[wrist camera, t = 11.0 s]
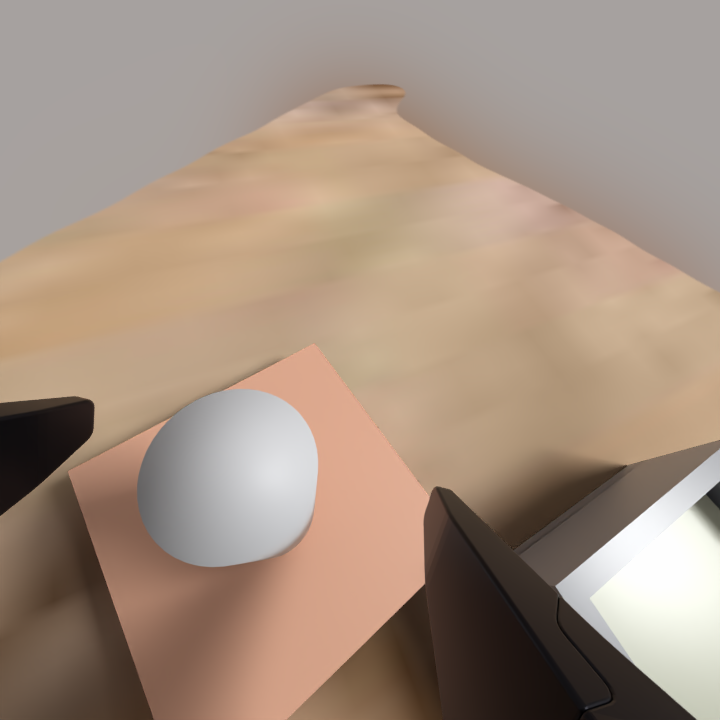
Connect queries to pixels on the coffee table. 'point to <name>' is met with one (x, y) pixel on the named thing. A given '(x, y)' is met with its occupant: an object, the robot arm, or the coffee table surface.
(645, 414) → the coffee table surface
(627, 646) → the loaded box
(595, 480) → the coffee table surface
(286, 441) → the lid
